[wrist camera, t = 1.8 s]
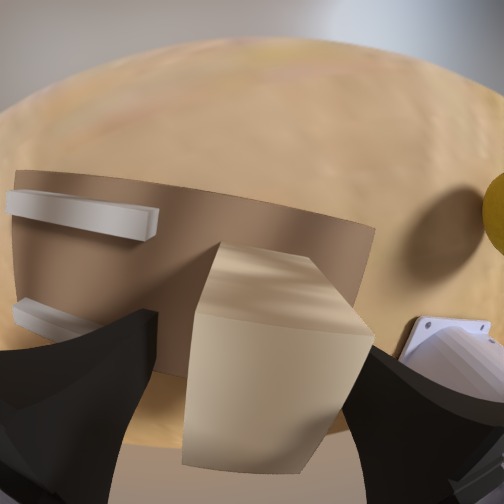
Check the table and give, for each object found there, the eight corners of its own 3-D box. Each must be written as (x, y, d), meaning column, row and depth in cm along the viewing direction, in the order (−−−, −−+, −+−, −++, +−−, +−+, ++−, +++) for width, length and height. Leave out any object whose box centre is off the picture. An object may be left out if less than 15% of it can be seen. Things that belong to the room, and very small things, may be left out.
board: (365, 225, 13) (390, 234, 11) (314, 381, 16) (324, 410, 13) (27, 170, 12) (-1, 170, 9) (30, 315, 14) (8, 332, 11)
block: (308, 257, 12) (375, 336, 6) (278, 364, 14) (299, 473, 7) (221, 241, 12) (194, 312, 5) (203, 353, 13) (181, 464, 7)
